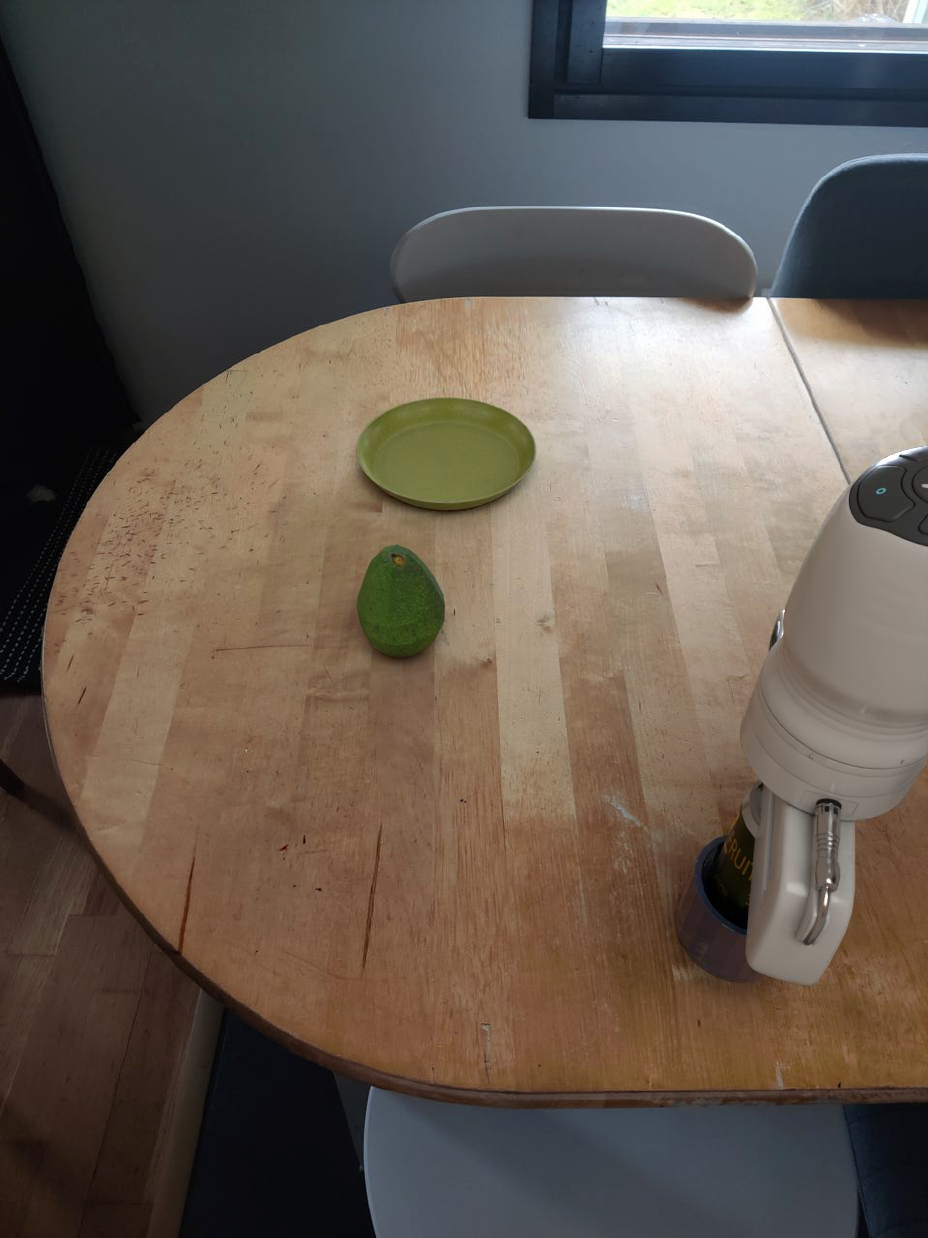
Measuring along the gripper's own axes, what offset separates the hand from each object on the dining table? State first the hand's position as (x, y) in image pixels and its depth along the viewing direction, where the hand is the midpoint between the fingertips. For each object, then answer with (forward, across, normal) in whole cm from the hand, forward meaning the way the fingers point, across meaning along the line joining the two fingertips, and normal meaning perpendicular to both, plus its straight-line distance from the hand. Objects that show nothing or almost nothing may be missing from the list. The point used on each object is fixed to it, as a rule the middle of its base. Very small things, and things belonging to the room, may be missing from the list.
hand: (766, 861), depth 55 cm
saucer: (+10, +47, +37) cm, 61 cm away
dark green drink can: (+6, 0, 0) cm, 6 cm away
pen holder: (+10, 0, 0) cm, 10 cm away
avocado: (+10, +19, +32) cm, 39 cm away
